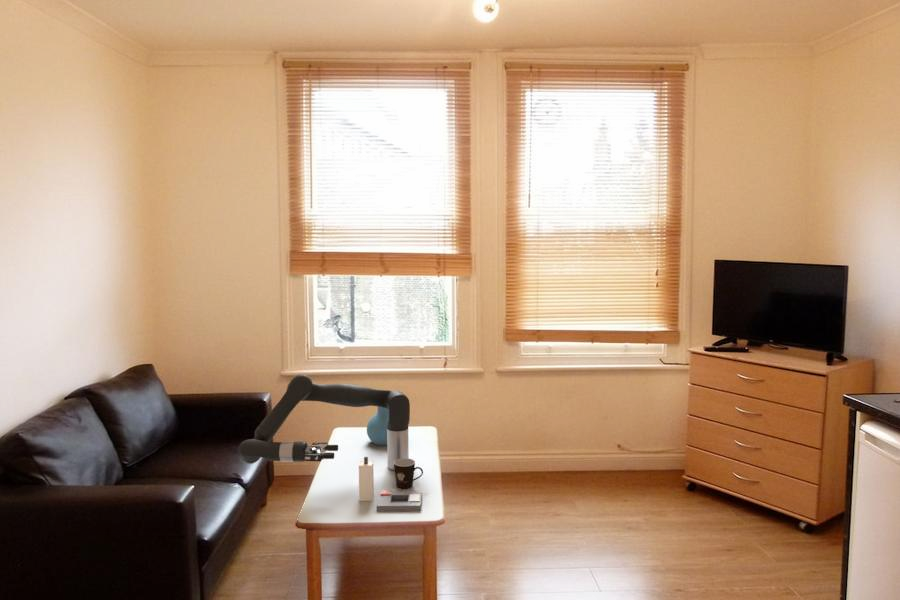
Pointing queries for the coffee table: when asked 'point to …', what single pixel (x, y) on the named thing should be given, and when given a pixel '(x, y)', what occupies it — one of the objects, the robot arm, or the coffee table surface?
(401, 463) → the coffee mug
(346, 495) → the coffee table surface
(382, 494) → the socket
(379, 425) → the vase
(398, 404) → the robot arm
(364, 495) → the plug
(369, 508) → the coffee table surface
